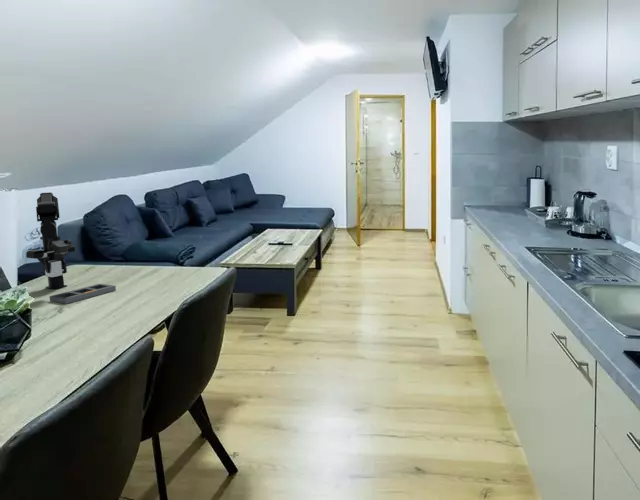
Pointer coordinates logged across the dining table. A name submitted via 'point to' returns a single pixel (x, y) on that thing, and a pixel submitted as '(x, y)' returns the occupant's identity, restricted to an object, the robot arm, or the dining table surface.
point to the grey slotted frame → (82, 293)
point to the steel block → (54, 268)
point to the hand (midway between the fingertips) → (53, 271)
